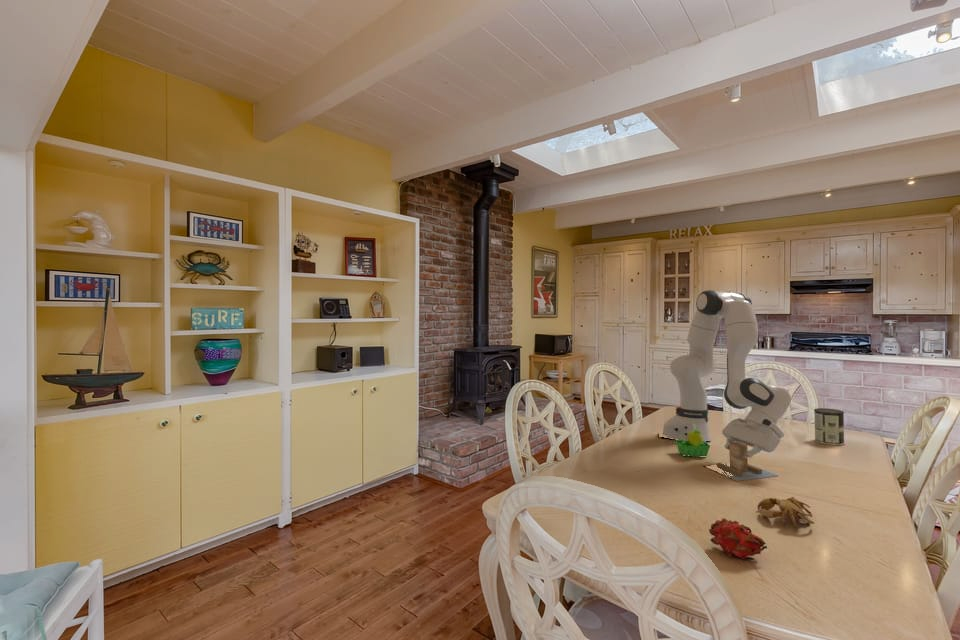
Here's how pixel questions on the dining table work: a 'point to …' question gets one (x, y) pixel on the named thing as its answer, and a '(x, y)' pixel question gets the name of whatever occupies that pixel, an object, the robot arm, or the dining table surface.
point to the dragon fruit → (736, 539)
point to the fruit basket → (693, 445)
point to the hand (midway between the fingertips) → (737, 452)
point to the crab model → (785, 509)
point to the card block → (738, 456)
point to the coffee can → (829, 426)
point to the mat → (751, 474)
